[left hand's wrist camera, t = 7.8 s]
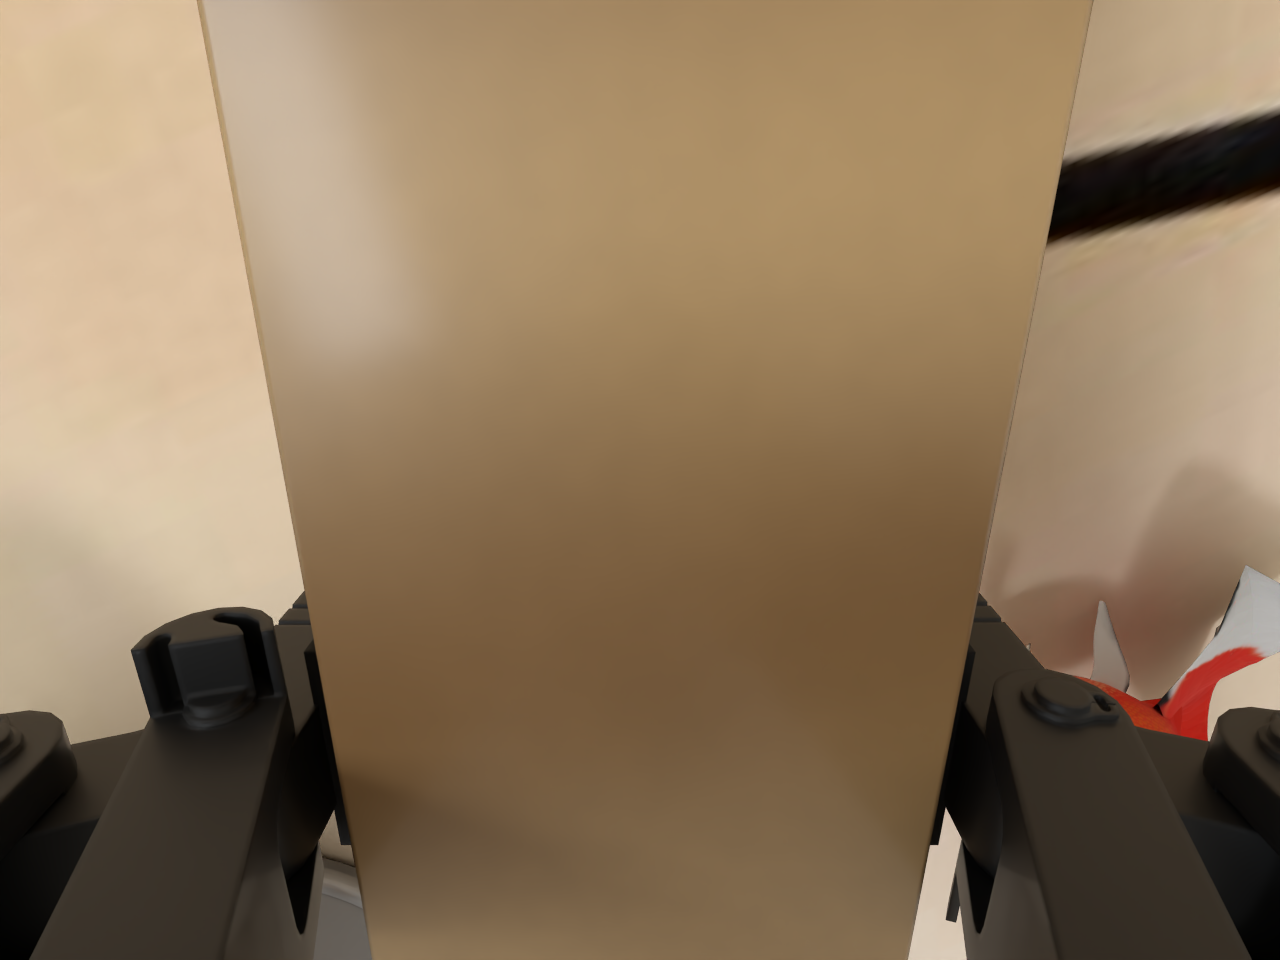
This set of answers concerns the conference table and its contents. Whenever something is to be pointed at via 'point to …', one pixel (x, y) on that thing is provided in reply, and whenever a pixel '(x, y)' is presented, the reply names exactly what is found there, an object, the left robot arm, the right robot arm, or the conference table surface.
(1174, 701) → the fish
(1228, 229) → the conference table surface
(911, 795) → the post
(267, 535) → the conference table surface
